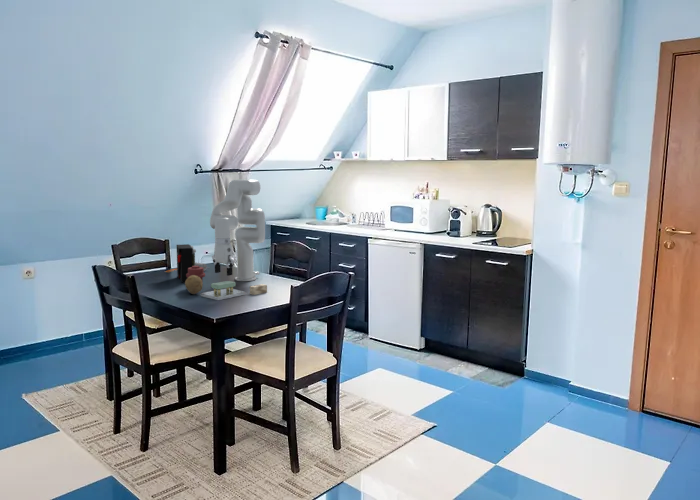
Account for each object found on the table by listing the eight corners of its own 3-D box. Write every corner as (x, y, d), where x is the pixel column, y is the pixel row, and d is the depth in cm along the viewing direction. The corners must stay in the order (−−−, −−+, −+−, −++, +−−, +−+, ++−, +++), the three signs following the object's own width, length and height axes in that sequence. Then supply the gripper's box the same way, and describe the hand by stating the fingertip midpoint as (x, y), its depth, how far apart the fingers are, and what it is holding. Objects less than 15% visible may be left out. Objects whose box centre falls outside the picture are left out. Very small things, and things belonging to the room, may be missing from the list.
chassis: (228, 290, 295) (228, 282, 294) (245, 294, 286) (245, 286, 285) (200, 296, 281) (200, 287, 280) (217, 300, 272) (217, 291, 272)
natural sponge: (187, 292, 290) (186, 273, 289) (204, 292, 291) (204, 273, 290) (183, 295, 281) (183, 276, 280) (201, 295, 282) (201, 276, 281)
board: (228, 284, 289) (228, 280, 289) (235, 286, 285) (235, 282, 285) (211, 287, 280) (211, 283, 280) (218, 289, 277) (218, 285, 276)
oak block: (262, 291, 295) (262, 283, 294) (267, 292, 293) (267, 284, 292) (249, 293, 288) (249, 286, 287) (254, 294, 286) (254, 287, 285)
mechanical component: (193, 286, 306) (208, 287, 303) (183, 289, 296) (199, 290, 294) (192, 264, 304) (208, 265, 302) (182, 267, 295) (198, 268, 292)
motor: (189, 267, 366) (188, 260, 365) (212, 270, 354) (211, 263, 353) (161, 278, 347) (160, 270, 346) (185, 282, 336) (184, 274, 334)
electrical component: (196, 282, 318) (196, 247, 315) (178, 283, 314) (177, 248, 311) (193, 276, 334) (192, 244, 331) (176, 277, 330) (175, 244, 327)
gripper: (239, 242, 277) (240, 275, 280) (218, 238, 288) (219, 270, 291) (227, 244, 272) (228, 277, 275) (206, 240, 282) (207, 272, 285)
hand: (223, 273), depth 283 cm, fingers open, 9 cm apart
